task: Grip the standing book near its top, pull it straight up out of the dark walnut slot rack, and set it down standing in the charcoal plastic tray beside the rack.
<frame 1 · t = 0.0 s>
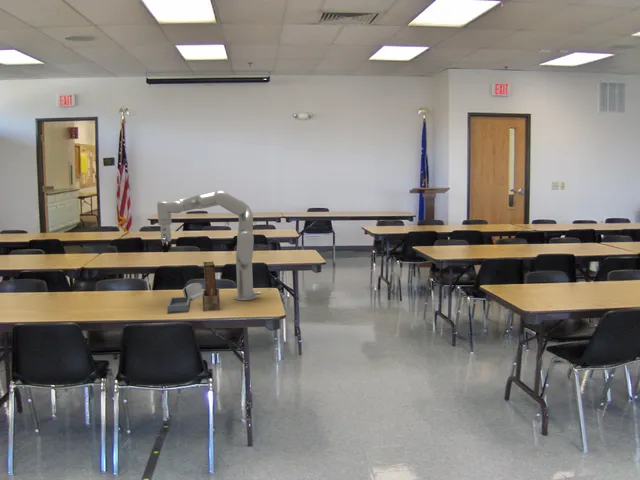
hand: (166, 251, 322), 31 cm above the table, tool pointing down, fingers open, 9 cm apart
rack: (211, 306, 315), on the table
book: (212, 306, 315), resting in rack
tray: (179, 308, 312), on the table
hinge: (194, 298, 340), on the table
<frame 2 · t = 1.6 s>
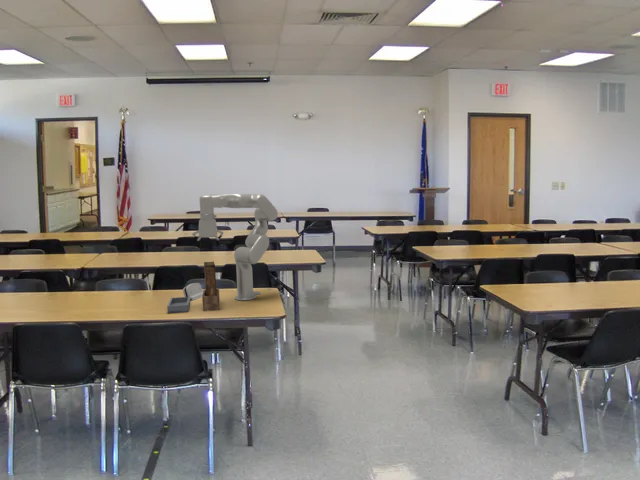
hand: (208, 247, 311), 34 cm above the table, tool pointing down, fingers open, 9 cm apart
nothing on the table moved.
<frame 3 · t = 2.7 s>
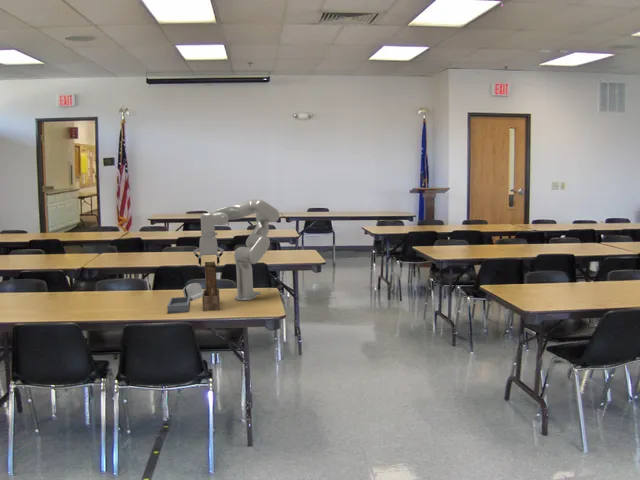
hand: (209, 264, 312), 24 cm above the table, tool pointing down, fingers open, 9 cm apart
nothing on the table moved.
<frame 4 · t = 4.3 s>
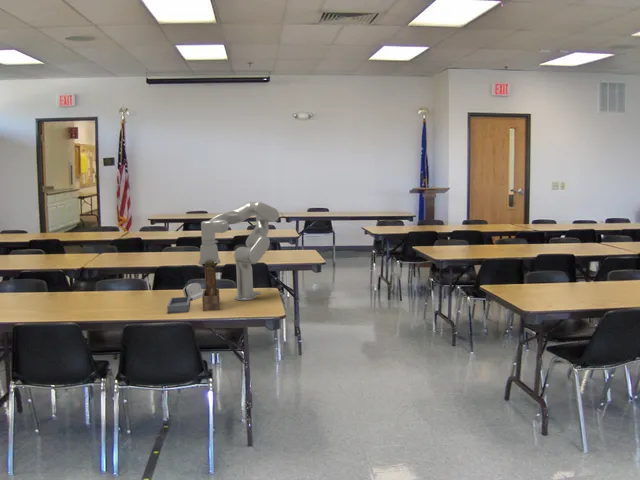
hand: (210, 274, 313), 19 cm above the table, tool pointing down, fingers closed on book
book: (211, 306, 315), resting in rack, touching gripper
everything else where it was.
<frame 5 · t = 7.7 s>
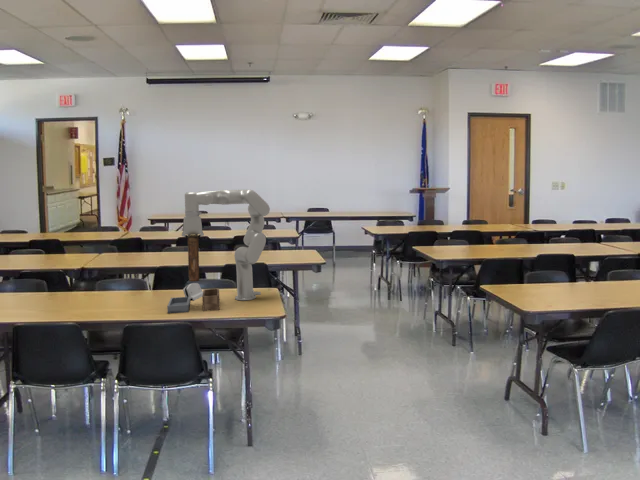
hand: (193, 246, 309), 35 cm above the table, tool pointing down, fingers closed on book
book: (193, 279, 311), point 16 cm above the table, touching gripper
everything else where it was.
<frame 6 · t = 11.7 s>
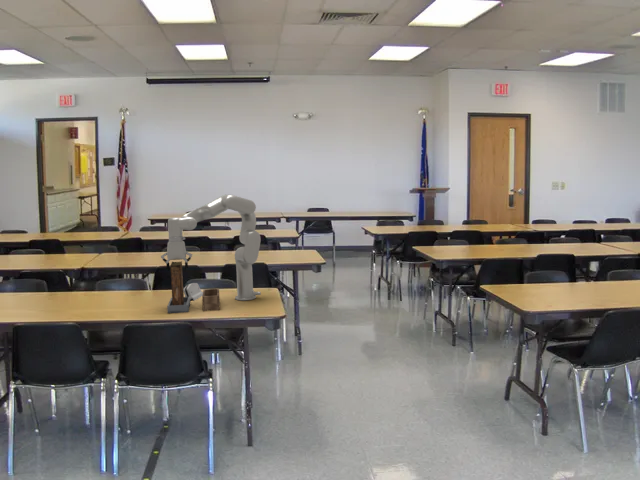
hand: (177, 269, 310), 22 cm above the table, tool pointing down, fingers open, 9 cm apart
book: (178, 306, 312), point 1 cm above the table, touching tray
everything else where it was.
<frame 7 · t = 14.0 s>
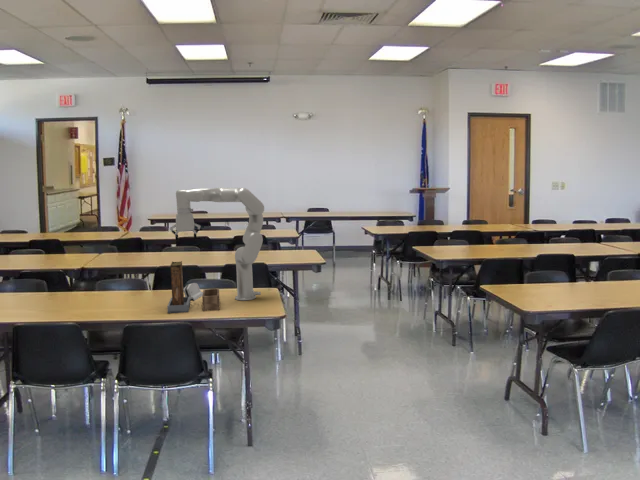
hand: (186, 241, 314), 38 cm above the table, tool pointing down, fingers open, 9 cm apart
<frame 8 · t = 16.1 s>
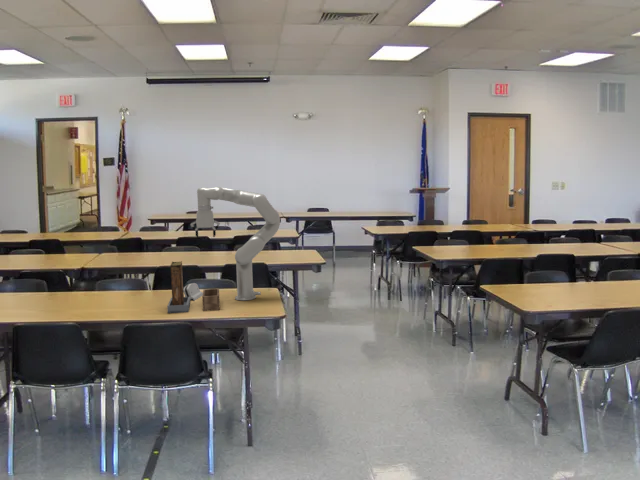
hand: (205, 237, 327), 38 cm above the table, tool pointing down, fingers open, 9 cm apart
at the end: book 0.5 cm off-centre on the tray, point 0.8 cm above the tray's base; the gripper is holding nothing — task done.
